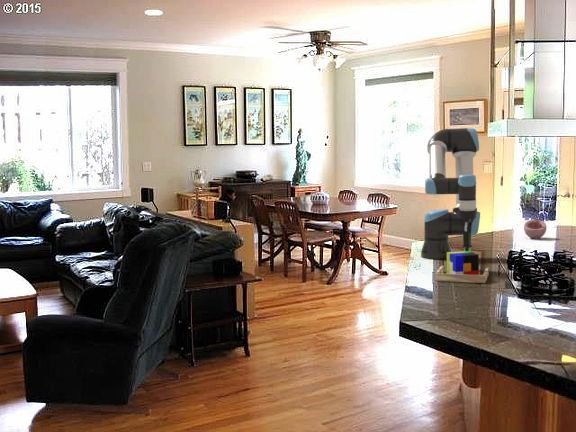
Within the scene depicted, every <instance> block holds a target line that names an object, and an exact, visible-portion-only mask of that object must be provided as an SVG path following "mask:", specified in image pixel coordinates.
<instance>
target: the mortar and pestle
mask: <svg viewBox="0 0 576 432" xmlns="http://www.w3.org/2000/svg"><path fill="white" fill-rule="evenodd" d="M523 231H524V233H525V235H526V236H527V237H529V238H530V239H535V240H537V239H540V238H542V237H543V236H544V235H546V231H547V224H546V222H544V221H543V220H539V219H537V218H534V219H530V220H528V221H526V222H525V223H524V226H523Z"/></svg>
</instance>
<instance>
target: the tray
mask: <svg viewBox="0 0 576 432" xmlns="http://www.w3.org/2000/svg"><path fill="white" fill-rule="evenodd" d="M444 267H445V266H444V265H440V266H439V267H438V269H437V270H436V271H435V272H434V281H437V282H456V283H479V284H486V282H487V279H488V277H489V274H490V273H489V271H490V270H489V269H490V268H489V267H485V270H484V271H483V273H482V274H479V275H468V274H447V273H446V272H445V273H444V271H445V270H444V269H445V268H444Z"/></svg>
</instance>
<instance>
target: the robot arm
mask: <svg viewBox="0 0 576 432" xmlns="http://www.w3.org/2000/svg"><path fill="white" fill-rule="evenodd" d="M479 142H480V141H479V136H478V132H477V130H476V129H475V128H472V127H471V128H470V127H464V128H444V129H440V130H438V131H437V132H435V133H433V135H432V136H431V137H430V139H429V140H428V143H427V153H428V155H429V162H428V163H429V165H428V166H429V168H428V169H429V174H428V175H429V177H428V178H426V179H425V181H424V191H425V194H426V195H432V196H433V195H434V196H435V195H455V206H453V208H452V211H449V209H447V208H439V209H433V210H429V211H426V212H425V213H424V220H423V223H424V229H423V230H424V231H423V232H424V236H423V237H424V241H423V245H422V248H421V250H420V251H421V252H420V257H422V258H425V259H429V260H430V259H433V260H434V259H435V260H439V259H441V260H442V259H447V252H453V251H452V248H451V245H450V242H449V236H450V237H451V236H456V237H457V236H460V237H461V236H462V237H463V238H462V239H463V240H462V241H463V243H462V244H463V245H462V246H461V248H463V251H470V252H471V248H472V247H473V245H471V244H472V236H476V235H477V234H478V233H479V227H480V221H481V220H480V219H481V212H480V211H478V208H477V177H476V175H475V174H474V157H476V156H477V152H479V151H480V144H479ZM447 153H451V154H452V157H453V158H454V159H455V161H454V162H455V163H454V164H455V177H446V176H447V174H446V170H447V169H446V154H447Z"/></svg>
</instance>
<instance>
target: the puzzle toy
mask: <svg viewBox="0 0 576 432" xmlns="http://www.w3.org/2000/svg"><path fill="white" fill-rule="evenodd" d="M479 256H480V255H479V254H478V253H476V252H473V251H471V250H470V251H464V250H463V251H452V252H447V258H446V274H468V275H480V273H479V270H480V269H479V266H480V265H479V263H480V262H479V261H480V260H479V259H480V258H479Z"/></svg>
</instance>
